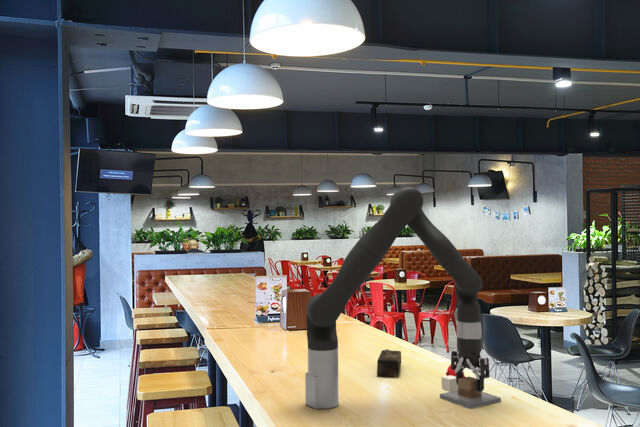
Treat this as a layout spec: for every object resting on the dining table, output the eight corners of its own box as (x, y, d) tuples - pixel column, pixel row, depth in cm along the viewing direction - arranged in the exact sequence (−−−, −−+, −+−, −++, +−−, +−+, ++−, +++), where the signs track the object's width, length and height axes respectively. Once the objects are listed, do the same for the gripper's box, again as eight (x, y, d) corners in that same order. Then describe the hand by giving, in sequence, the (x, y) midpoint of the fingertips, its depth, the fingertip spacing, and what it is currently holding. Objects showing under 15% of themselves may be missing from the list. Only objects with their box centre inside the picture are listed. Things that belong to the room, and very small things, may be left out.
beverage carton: (402, 366, 233) (401, 348, 233) (399, 379, 214) (398, 360, 214) (381, 365, 234) (381, 348, 234) (376, 378, 215) (376, 359, 215)
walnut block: (469, 398, 184) (469, 382, 184) (458, 394, 188) (458, 378, 188) (481, 396, 186) (481, 379, 186) (470, 392, 191) (469, 376, 191)
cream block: (449, 391, 196) (449, 379, 196) (441, 389, 200) (441, 376, 200) (459, 390, 198) (459, 377, 198) (451, 387, 202) (450, 375, 202)
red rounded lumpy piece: (443, 370, 212) (442, 364, 207) (459, 364, 212) (458, 358, 207) (452, 391, 207) (451, 386, 202) (468, 385, 207) (468, 380, 202)
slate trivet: (469, 408, 178) (469, 404, 178) (439, 397, 189) (439, 393, 189) (500, 401, 185) (500, 397, 185) (470, 391, 196) (470, 387, 196)
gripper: (444, 333, 192) (445, 384, 191) (477, 340, 179) (477, 395, 179) (461, 330, 195) (462, 381, 195) (495, 338, 183) (495, 391, 183)
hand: (469, 388), depth 187 cm, fingers open, 8 cm apart
